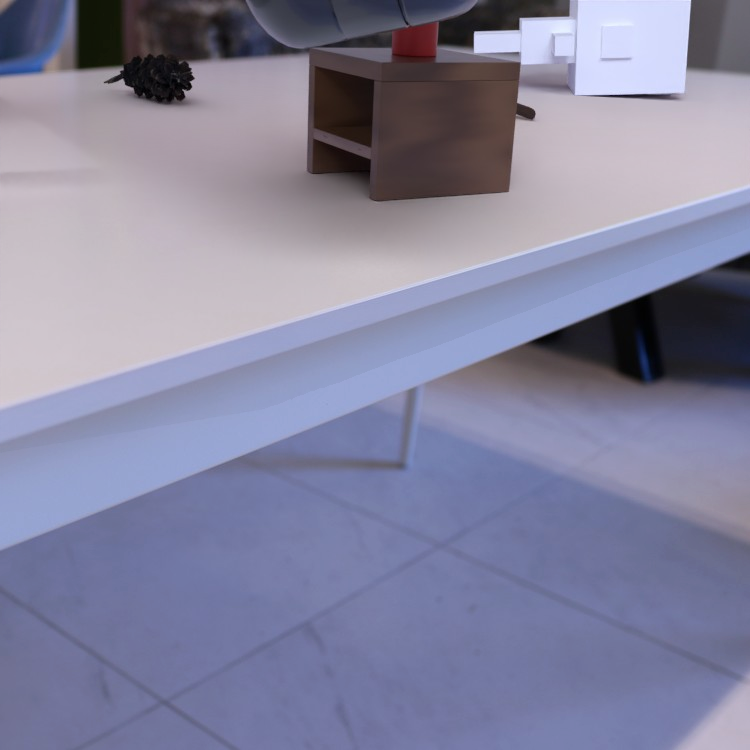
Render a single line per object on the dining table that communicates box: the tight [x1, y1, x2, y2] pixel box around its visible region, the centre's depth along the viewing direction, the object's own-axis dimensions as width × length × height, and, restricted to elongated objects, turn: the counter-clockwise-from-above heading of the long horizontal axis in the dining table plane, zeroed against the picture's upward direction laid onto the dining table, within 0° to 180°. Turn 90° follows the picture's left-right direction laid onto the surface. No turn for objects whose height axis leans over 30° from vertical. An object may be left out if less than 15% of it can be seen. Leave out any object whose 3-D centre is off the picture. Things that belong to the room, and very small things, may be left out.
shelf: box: [306, 47, 522, 202], centre depth 76 cm, size 11×11×9 cm
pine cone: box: [103, 52, 196, 104], centre depth 114 cm, size 18×5×5 cm, turn 39°
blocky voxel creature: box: [473, 0, 692, 96], centre depth 142 cm, size 15×25×28 cm
